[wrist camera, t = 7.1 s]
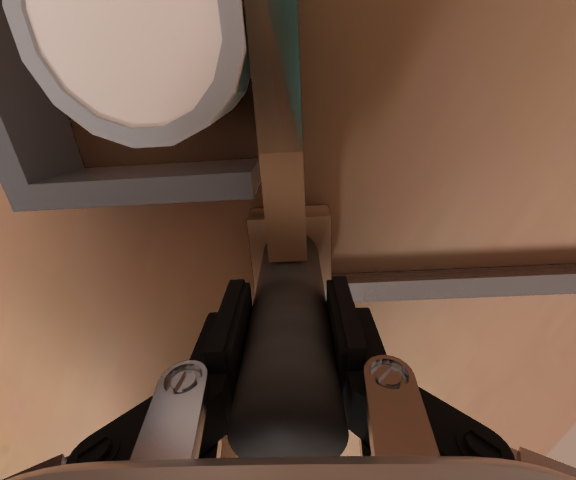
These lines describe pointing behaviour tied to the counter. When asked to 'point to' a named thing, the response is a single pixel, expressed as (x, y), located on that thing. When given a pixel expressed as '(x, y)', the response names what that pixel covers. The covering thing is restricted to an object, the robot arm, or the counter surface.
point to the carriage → (285, 269)
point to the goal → (68, 164)
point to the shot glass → (136, 63)
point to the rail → (462, 283)
